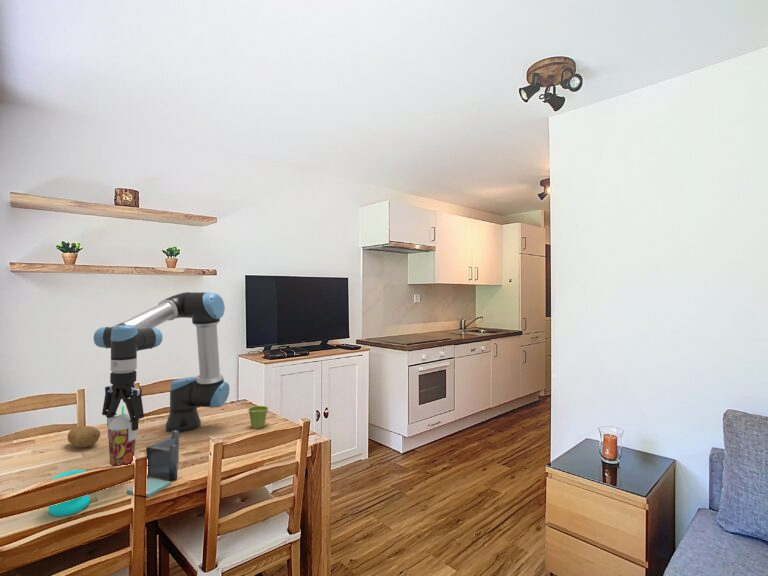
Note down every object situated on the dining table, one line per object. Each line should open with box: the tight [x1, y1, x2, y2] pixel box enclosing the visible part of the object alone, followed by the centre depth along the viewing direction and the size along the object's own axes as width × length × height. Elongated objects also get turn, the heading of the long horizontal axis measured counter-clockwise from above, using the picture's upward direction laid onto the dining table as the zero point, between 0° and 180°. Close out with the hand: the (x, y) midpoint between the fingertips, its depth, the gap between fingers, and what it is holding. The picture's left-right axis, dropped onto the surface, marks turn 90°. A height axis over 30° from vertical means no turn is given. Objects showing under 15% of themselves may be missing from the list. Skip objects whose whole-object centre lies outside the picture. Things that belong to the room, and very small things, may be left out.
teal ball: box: [47, 469, 91, 517], centre depth 122 cm, size 10×10×10 cm
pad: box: [126, 477, 172, 498], centre depth 135 cm, size 9×9×1 cm
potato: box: [67, 425, 101, 448], centre depth 169 cm, size 10×14×8 cm
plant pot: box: [247, 405, 269, 430], centre depth 197 cm, size 9×9×9 cm
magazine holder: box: [145, 430, 180, 482], centre depth 149 cm, size 13×14×12 cm
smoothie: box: [107, 405, 136, 467], centre depth 139 cm, size 8×8×20 cm
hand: (122, 437), depth 139 cm, fingers closed on smoothie, 8 cm apart
